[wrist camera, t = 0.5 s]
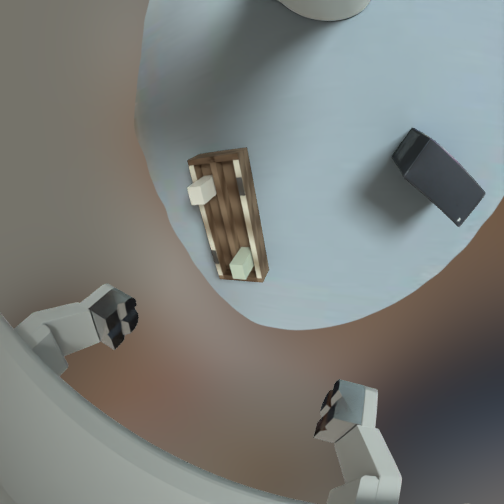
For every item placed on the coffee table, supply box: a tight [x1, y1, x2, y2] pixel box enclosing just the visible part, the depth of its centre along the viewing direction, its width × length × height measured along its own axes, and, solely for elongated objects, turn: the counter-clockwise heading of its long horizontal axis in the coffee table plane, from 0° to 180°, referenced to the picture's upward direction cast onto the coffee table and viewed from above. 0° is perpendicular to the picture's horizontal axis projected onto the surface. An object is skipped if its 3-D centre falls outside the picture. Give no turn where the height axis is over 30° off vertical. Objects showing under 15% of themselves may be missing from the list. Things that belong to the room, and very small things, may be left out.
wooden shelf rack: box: [187, 148, 269, 282], centre depth 48 cm, size 24×9×4 cm, turn 11°
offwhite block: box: [187, 175, 217, 205], centre depth 43 cm, size 3×2×6 cm
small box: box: [392, 128, 486, 227], centre depth 29 cm, size 11×6×10 cm, turn 65°
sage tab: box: [229, 247, 254, 280], centre depth 49 cm, size 3×2×6 cm
